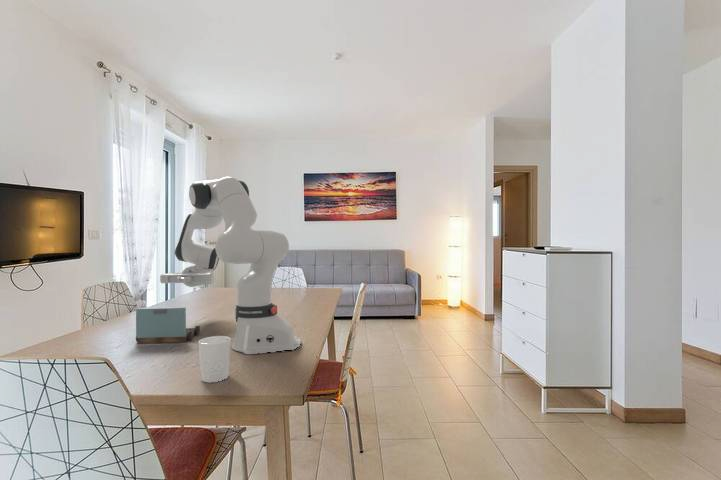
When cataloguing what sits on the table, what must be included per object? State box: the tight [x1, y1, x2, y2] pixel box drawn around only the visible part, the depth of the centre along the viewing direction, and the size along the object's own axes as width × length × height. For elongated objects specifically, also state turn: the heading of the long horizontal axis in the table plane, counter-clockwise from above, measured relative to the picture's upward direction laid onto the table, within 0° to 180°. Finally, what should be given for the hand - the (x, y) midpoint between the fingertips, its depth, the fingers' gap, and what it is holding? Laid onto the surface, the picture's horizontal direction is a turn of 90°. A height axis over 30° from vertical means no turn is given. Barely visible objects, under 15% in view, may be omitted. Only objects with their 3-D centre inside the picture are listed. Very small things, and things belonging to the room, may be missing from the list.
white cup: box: [197, 335, 232, 384], centre depth 97 cm, size 8×8×10 cm
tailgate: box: [135, 306, 187, 339], centre depth 129 cm, size 16×2×10 cm, turn 96°
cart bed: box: [135, 325, 201, 344], centre depth 136 cm, size 18×12×3 cm, turn 96°
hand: (180, 280), depth 147 cm, fingers closed
